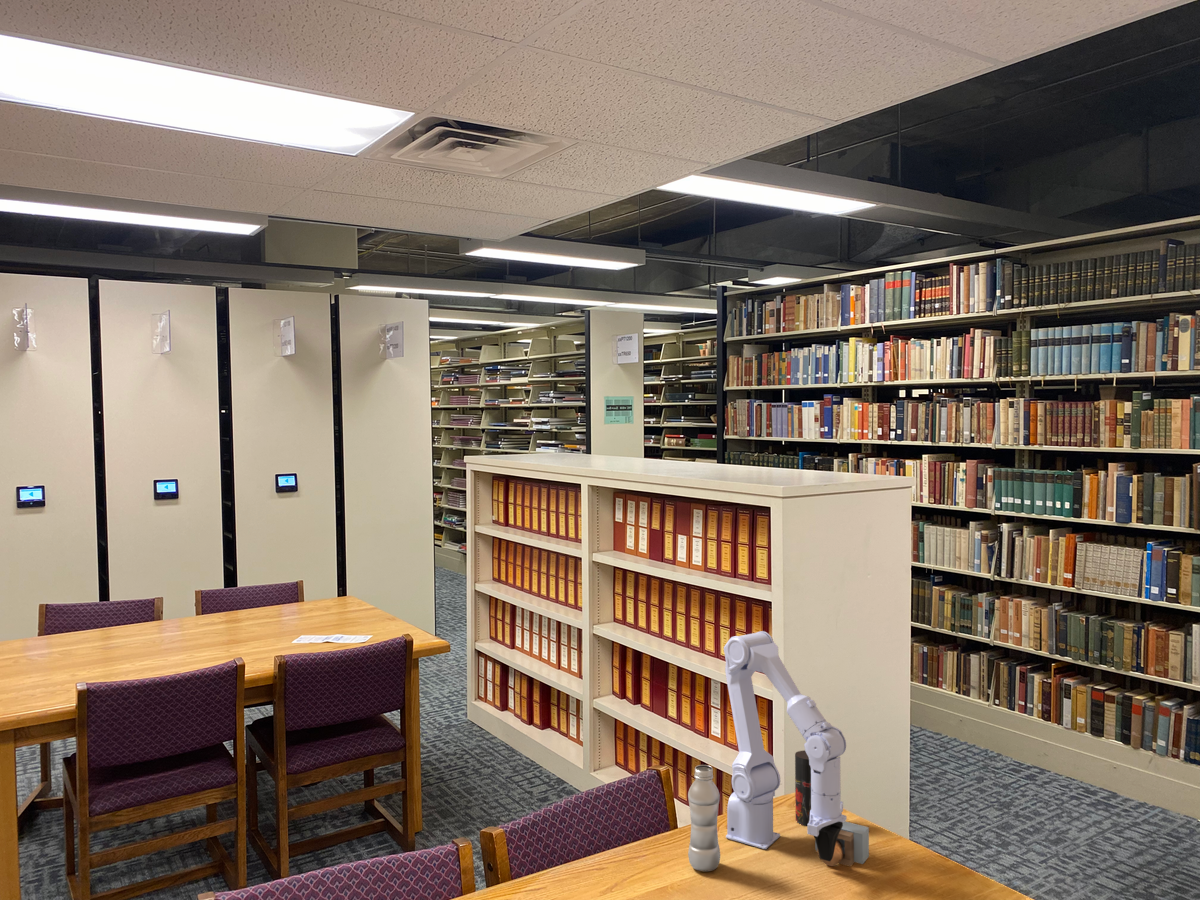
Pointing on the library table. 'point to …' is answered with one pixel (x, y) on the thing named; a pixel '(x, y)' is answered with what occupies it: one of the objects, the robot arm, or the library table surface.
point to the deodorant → (802, 788)
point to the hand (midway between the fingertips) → (826, 858)
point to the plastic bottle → (704, 820)
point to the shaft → (835, 853)
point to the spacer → (847, 847)
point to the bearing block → (857, 841)
